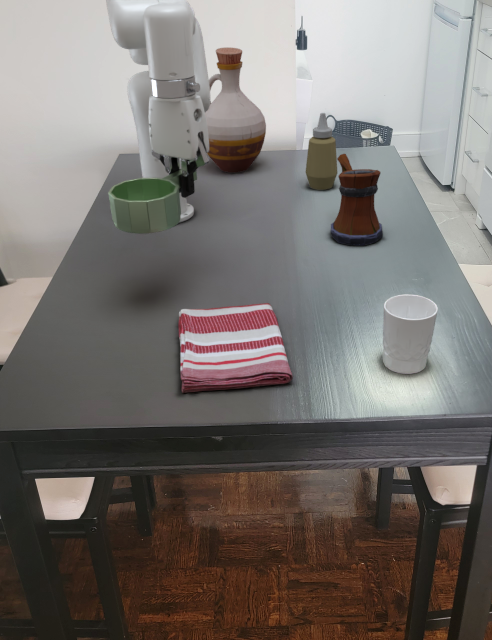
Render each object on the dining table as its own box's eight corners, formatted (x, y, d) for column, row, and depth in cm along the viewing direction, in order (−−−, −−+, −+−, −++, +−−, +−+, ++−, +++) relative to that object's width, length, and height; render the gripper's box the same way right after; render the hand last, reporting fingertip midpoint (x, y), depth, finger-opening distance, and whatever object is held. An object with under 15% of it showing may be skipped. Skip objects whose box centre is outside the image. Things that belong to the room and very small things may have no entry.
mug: (315, 218, 159) (317, 152, 150) (364, 213, 160) (367, 148, 152) (337, 249, 144) (340, 178, 136) (390, 243, 146) (396, 173, 137)
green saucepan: (151, 239, 113) (147, 206, 110) (100, 225, 119) (94, 193, 115) (220, 201, 127) (218, 170, 124) (171, 190, 132) (168, 161, 129)
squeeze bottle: (342, 184, 177) (345, 111, 167) (327, 194, 171) (330, 119, 161) (314, 179, 181) (316, 107, 171) (299, 188, 175) (300, 115, 165)
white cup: (374, 350, 111) (378, 295, 106) (422, 347, 112) (429, 292, 106) (385, 378, 105) (391, 321, 99) (436, 374, 105) (444, 317, 100)
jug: (185, 167, 192) (174, 49, 175) (233, 153, 202) (228, 40, 185) (231, 183, 180) (224, 58, 163) (280, 167, 190) (279, 48, 173)
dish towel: (181, 395, 103) (179, 380, 101) (178, 318, 122) (177, 304, 121) (293, 385, 104) (293, 370, 103) (273, 310, 123) (273, 297, 122)
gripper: (224, 87, 115) (230, 195, 125) (151, 78, 122) (162, 181, 132) (197, 97, 109) (205, 208, 120) (122, 87, 117) (136, 193, 127)
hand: (182, 193), depth 126 cm, fingers closed on green saucepan
